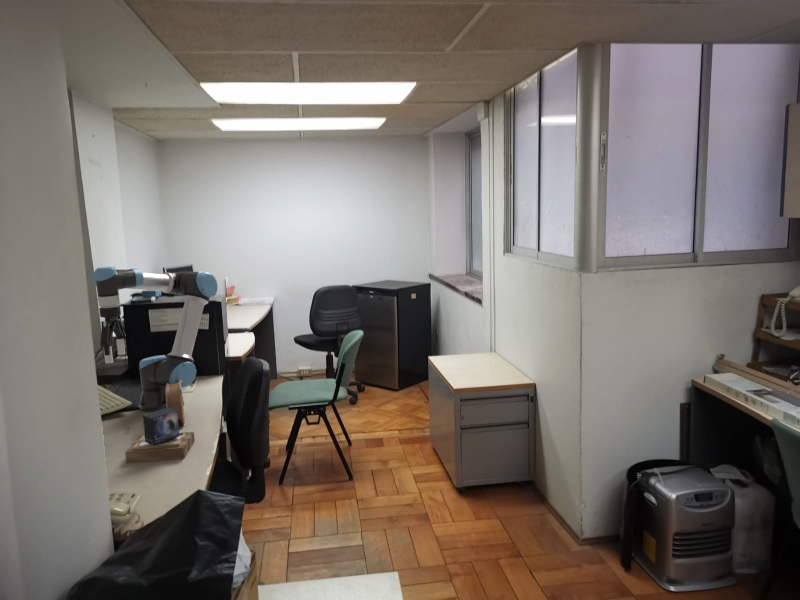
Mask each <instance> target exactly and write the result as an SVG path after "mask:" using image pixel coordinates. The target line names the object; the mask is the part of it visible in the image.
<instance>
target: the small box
mask: <svg viewBox="0 0 800 600" xmlns="http://www.w3.org/2000/svg"><path fill="white" fill-rule="evenodd" d="M142 418H143V430H144V431H143V432H144V433H143V434H144V435H145V442H147V443H149V444H152V445H156V444H159V443H162V442H165V441H168V440H170V439H173V438H176V437H179V433H180V430H179V427H180V426H179V422H178V415H177V410H175V409H172V408H169V407H167V408H164V409H161V410H157V411H150V412H148V413H145V414H142Z"/></svg>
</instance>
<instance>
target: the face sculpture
mask: <svg viewBox="0 0 800 600" xmlns="http://www.w3.org/2000/svg"><path fill="white" fill-rule="evenodd" d="M182 383H183V381H182V380H180V381H179V382H178V383H176V384H169V383H167V384H166V389H165V391H166V407H169V408H172V409H175V410H177V415H178V423H181V425H184V424H185V423H186V421H184V420H185V414H184V413H185V412H184V411H185V410H184V406H185V401H184V396H183V388H182ZM184 426H185V425H184Z"/></svg>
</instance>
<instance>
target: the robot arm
mask: <svg viewBox="0 0 800 600" xmlns="http://www.w3.org/2000/svg"><path fill="white" fill-rule="evenodd" d="M91 283H92V285H94V286H95V287H96V293H97V299H96V301H97V302H98V307H99V310H98V311H99V316H100V318H104V320H103V321H101V331H100V332H101V334H100V344H99V347H100V348H103V353H104V354H103V355H104V363H105V364H113V363H114V358H113V351H112V347H113V346H112V345H111V343H112V337H113V333H114V335H115V337H116V339H115V340H116V350H117V355H118V356H124V355H126V348H125V339H126V338H127V335H126V331H125V328H124V325H123V322H122V317H121V314H122V311H121V306H120V305H121V301H120V295H119V294H120V293H119V290H124V289H126V290H127V289H130V290H146V291H147V290H148V291H161V292H162V293H164V294H170V295H171V294H173V295H176V296H181V297H182V298H183V300H184V305H183V307H182V308H183V309H182V311H181V315H180V319H179V322H178V327H177V330H176V334H175V339H174V343H173V346H172V349H171V351H170V352H169V353H168V354H166V355H165V354H161V355H154V356H149V357H146V358H143V359H141V360H140V361H139V376H140V383H141V384H140V385H141V396H140V399H139V409H141V410H140V411H142V412H154V411H157V410H161V409H164V408H167V407H166V391H165V389H166V384H167V383H169V384H176V383H178V382H179V381H180V380H182V381H183V383H182V389H184V388H187V387H189V385H191V384H192V383H193V382H194V381H195V378H196V375H197V369H196V365H195V364H194V361H195V360H194V358H193V356H192V355H193V350H194V346H195V342H196V338H197V336H198V332H199V327H200V323H201V321H202V315H203V312H204V308H205V306H206V305H207V304H209V301H210V298H213V297H214V296H215V295H216V294H217V291H218V287H219V286H218V281H217V279H216V277H215V276H214V275H213V273H211V272H209V271H203V270H202V271H176V272H168V271H166V272H163V273H153V272H142V271H141V269H139V268H129V269H128V268H127V269H116V267H115V266H104V267H103V266H102V267H97V268H96V269H95V270H94V271H93V272H92V274H91Z"/></svg>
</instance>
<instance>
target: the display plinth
mask: <svg viewBox="0 0 800 600" xmlns="http://www.w3.org/2000/svg"><path fill="white" fill-rule="evenodd" d="M194 441H195V431H183V432H179V437H176V438H173V439H170V440H168V441H165V442H162V443H159V444H156V445H152V444H149V443H147V442H145V434H144V435H139V436H138V438H136V439H135V440H134V441H133V443H132V444H131V445H130V446H129V447H128V449H126V451H124V455H125V461H126V464H128V463H129V464H130V462H133V463H143V462H144V461H146V462H157V460H159V461H169V459H171V460H182V459H183V460H184V459H185V458H186V456H187V455H188V453H189V451H190V450H191V449H190V448H192V447H193V445H194V444H195V442H196V441H195V442H194ZM193 443H194V444H193ZM191 446H192V447H191ZM144 463H145V462H144Z"/></svg>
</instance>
